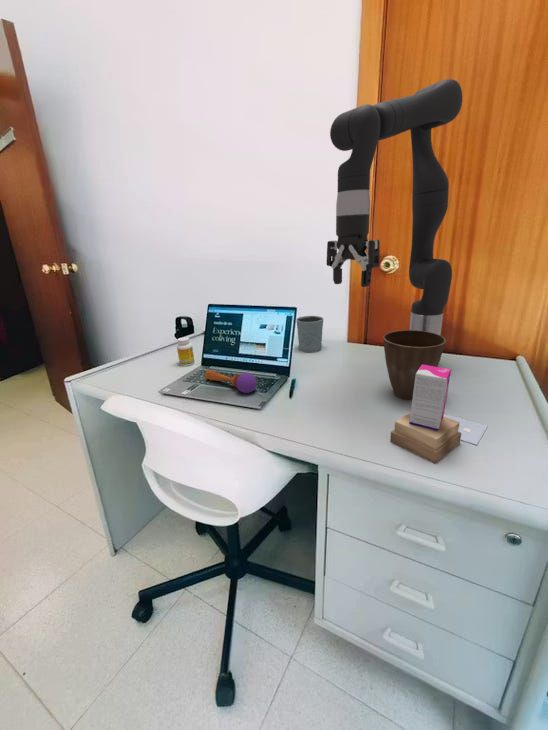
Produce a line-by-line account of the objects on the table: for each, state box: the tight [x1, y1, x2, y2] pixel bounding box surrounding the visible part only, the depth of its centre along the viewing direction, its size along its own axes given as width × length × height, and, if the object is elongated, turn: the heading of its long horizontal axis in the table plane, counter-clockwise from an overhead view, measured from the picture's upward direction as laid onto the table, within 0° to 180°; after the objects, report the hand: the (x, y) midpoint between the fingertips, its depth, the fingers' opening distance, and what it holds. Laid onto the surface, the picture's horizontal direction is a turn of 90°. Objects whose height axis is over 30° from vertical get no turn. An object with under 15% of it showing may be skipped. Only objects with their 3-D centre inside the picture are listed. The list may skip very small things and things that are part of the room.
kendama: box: [204, 369, 258, 394], centre depth 105 cm, size 6×6×20 cm
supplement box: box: [409, 364, 452, 431], centre depth 70 cm, size 6×6×12 cm
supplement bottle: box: [176, 336, 195, 367], centre depth 124 cm, size 5×5×10 cm
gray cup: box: [295, 315, 324, 354], centre depth 132 cm, size 10×10×12 cm
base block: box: [389, 411, 461, 464], centre depth 72 cm, size 10×10×5 cm
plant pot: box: [383, 329, 447, 400], centre depth 92 cm, size 15×15×16 cm
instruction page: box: [444, 413, 488, 446], centre depth 78 cm, size 9×12×1 cm
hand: (351, 285), depth 85 cm, fingers open, 8 cm apart
